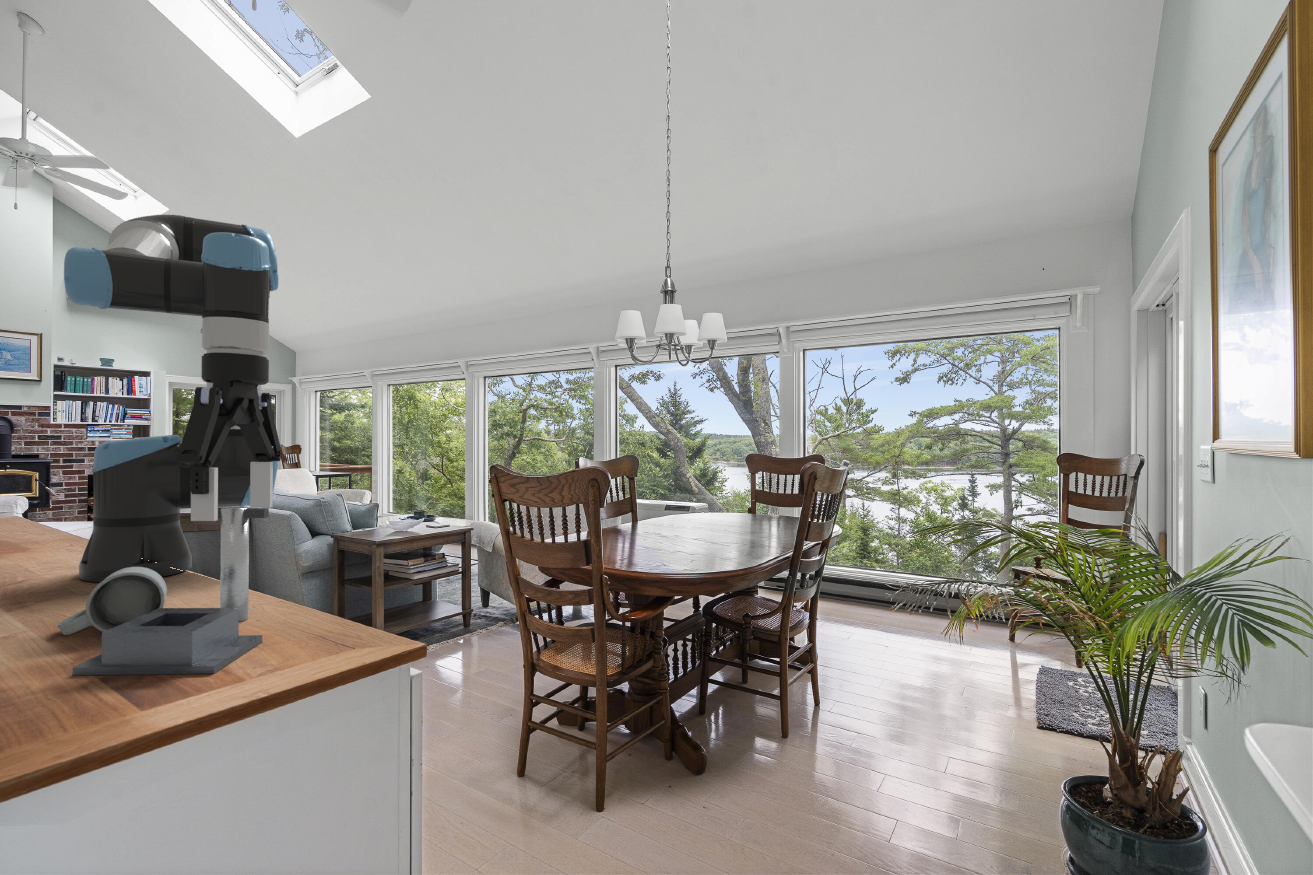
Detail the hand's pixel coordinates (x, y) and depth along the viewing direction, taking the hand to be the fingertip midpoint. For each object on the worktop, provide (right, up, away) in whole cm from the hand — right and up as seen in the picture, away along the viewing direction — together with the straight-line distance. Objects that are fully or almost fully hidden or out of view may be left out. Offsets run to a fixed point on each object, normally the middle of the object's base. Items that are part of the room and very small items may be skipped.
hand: (235, 513), depth 87 cm
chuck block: (+2, -15, -13) cm, 20 cm away
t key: (-1, -14, +1) cm, 14 cm away
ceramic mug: (-13, -14, -4) cm, 20 cm away
